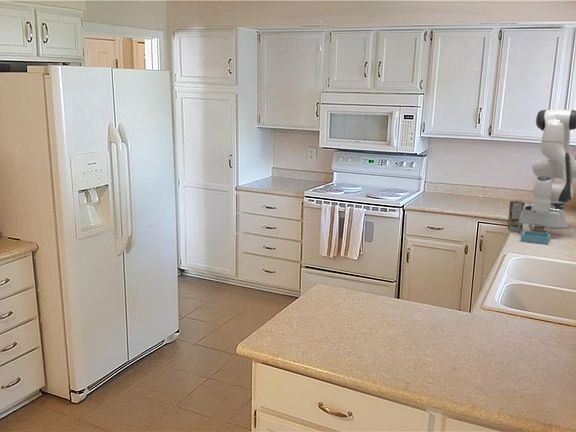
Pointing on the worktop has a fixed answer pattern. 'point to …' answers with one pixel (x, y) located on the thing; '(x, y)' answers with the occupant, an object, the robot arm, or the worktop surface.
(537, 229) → the walnut block
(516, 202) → the coffee box
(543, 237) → the tray
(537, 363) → the worktop surface
